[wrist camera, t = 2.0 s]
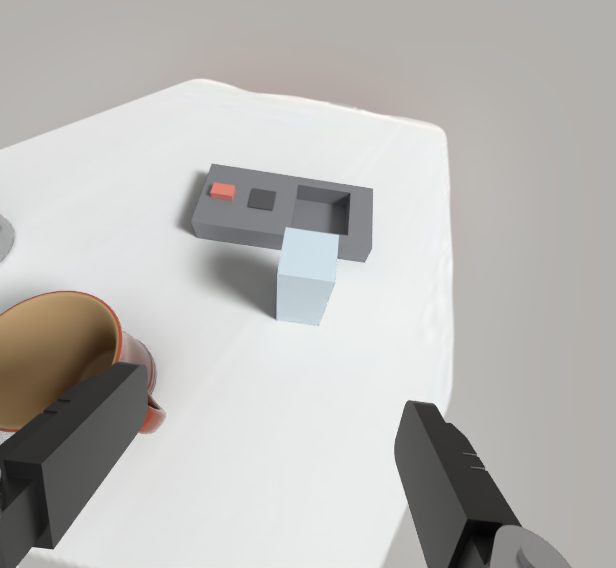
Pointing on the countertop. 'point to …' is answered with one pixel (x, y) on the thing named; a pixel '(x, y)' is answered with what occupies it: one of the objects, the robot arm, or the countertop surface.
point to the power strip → (282, 210)
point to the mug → (62, 354)
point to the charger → (305, 275)
